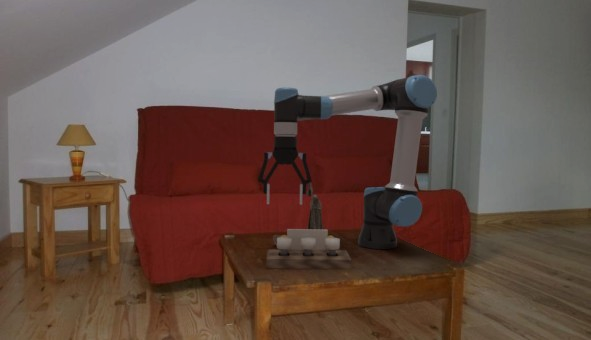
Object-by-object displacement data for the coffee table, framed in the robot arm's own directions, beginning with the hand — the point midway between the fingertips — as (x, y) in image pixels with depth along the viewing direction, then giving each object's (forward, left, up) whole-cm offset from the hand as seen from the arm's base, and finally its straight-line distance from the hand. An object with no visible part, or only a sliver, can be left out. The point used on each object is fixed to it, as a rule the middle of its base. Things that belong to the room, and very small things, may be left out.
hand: (284, 203), depth 140 cm
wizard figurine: (-12, -37, -20) cm, 44 cm away
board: (-8, 0, -20) cm, 21 cm away
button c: (0, 0, -17) cm, 17 cm away
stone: (-1, -20, -20) cm, 29 cm away
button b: (-8, 0, -17) cm, 19 cm away
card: (-8, -6, -20) cm, 22 cm away
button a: (-16, 0, -17) cm, 24 cm away
